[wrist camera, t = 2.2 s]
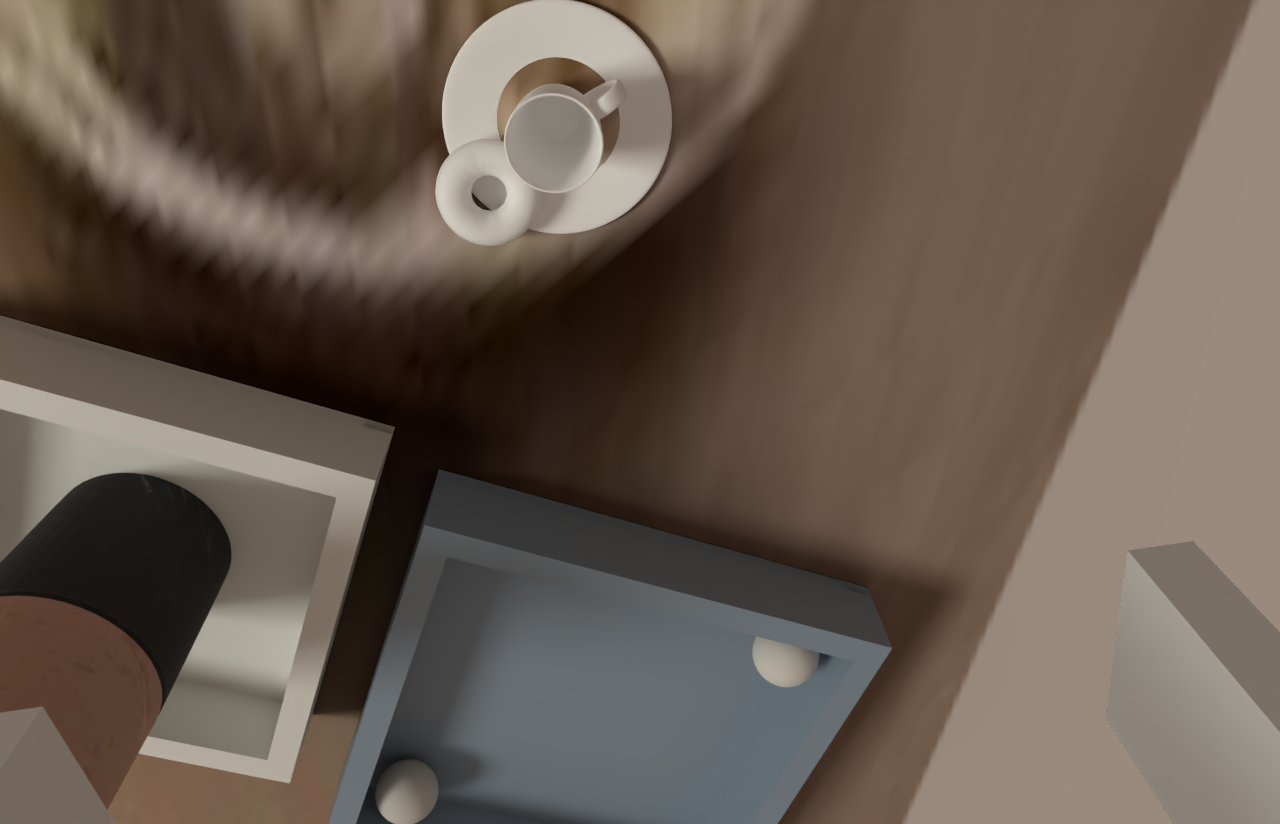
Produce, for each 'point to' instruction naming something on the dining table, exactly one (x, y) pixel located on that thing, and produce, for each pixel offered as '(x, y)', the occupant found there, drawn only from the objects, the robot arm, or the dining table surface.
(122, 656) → the travel mug
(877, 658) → the bin
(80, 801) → the robot arm
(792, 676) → the pebble
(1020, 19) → the dining table surface
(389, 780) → the pebble
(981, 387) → the dining table surface
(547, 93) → the teacup and saucer
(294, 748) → the tray
